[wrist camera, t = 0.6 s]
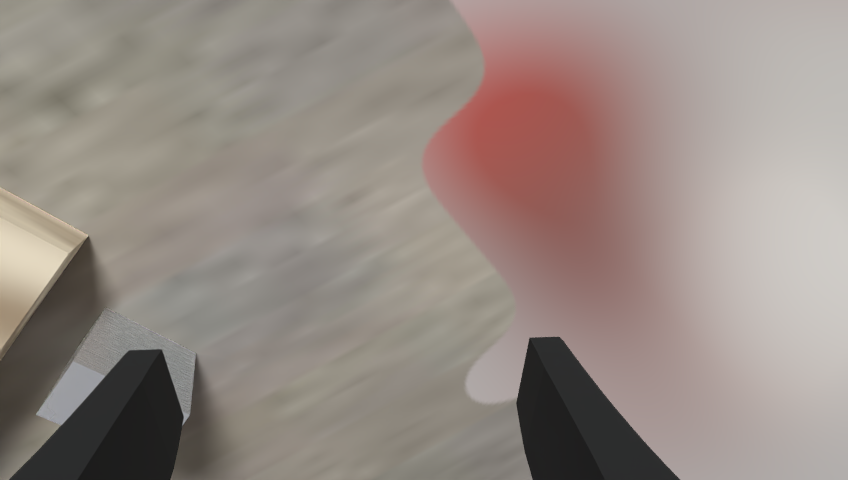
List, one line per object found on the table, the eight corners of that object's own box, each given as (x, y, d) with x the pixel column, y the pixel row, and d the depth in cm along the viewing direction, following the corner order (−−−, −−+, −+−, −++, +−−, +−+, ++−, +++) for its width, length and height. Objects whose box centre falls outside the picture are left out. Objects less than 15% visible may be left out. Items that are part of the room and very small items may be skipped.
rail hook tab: (169, 391, 31) (155, 464, 24) (76, 348, 29) (35, 414, 22) (196, 352, 31) (190, 414, 24) (105, 307, 29) (73, 361, 23)
